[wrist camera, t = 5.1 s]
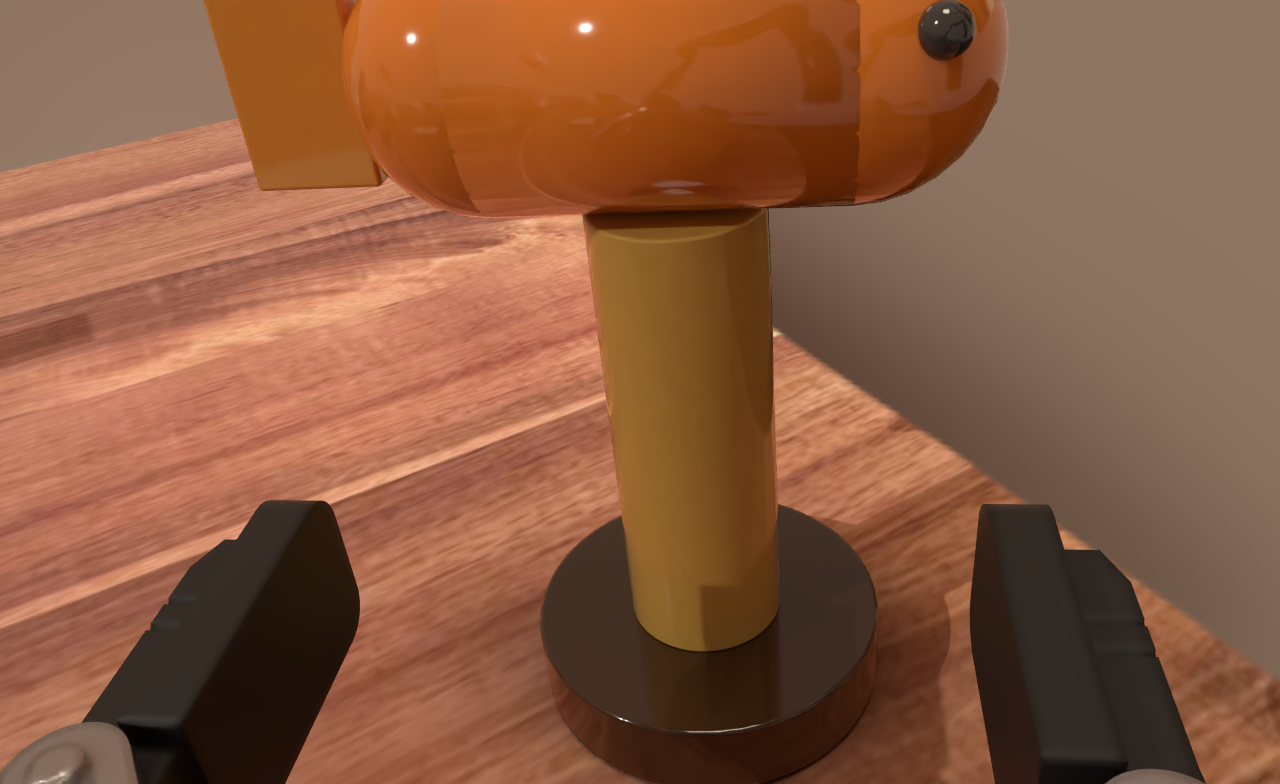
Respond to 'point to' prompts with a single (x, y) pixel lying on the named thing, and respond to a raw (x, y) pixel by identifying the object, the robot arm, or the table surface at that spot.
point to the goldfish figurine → (653, 296)
